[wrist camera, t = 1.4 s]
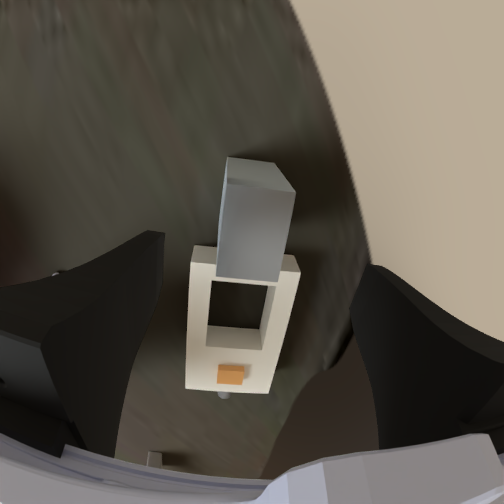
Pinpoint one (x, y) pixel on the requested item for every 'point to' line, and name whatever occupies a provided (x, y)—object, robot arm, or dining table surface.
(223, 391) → the white rectangular frame
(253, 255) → the plug
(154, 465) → the lighter
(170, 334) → the dining table surface
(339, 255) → the dining table surface
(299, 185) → the dining table surface
